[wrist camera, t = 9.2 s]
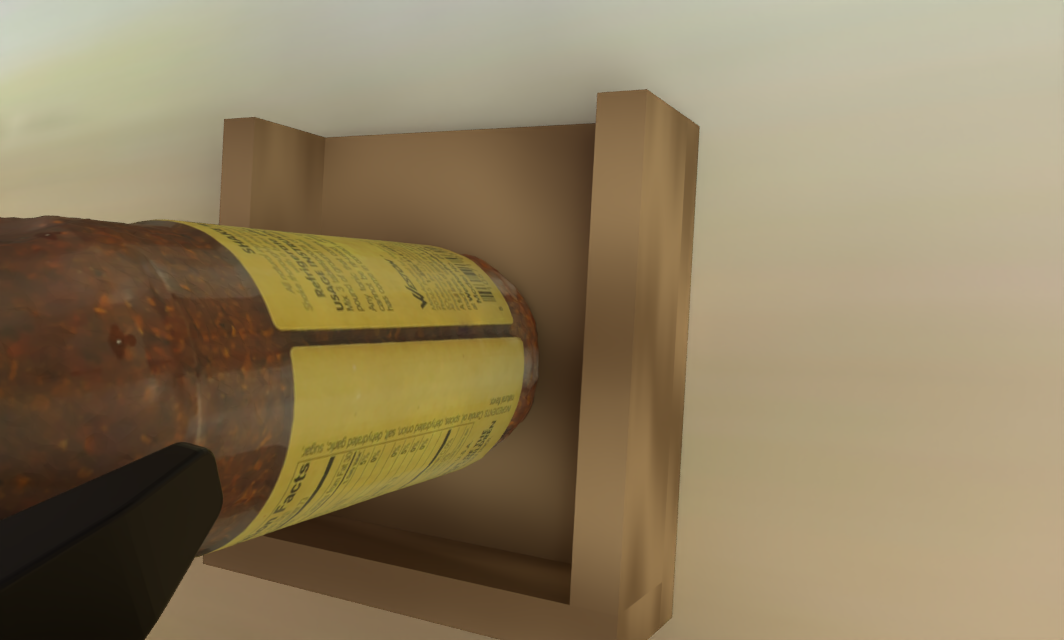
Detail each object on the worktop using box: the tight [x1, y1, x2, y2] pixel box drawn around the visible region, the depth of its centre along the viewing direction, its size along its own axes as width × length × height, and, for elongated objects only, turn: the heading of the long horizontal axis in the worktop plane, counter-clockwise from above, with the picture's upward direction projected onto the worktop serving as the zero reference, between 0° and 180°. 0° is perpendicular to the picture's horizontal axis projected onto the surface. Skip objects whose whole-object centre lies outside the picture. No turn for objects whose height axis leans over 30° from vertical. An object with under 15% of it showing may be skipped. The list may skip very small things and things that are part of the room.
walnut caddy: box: [203, 89, 699, 640], centre depth 24 cm, size 13×13×4 cm
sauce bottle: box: [0, 216, 539, 557], centre depth 16 cm, size 6×6×20 cm
